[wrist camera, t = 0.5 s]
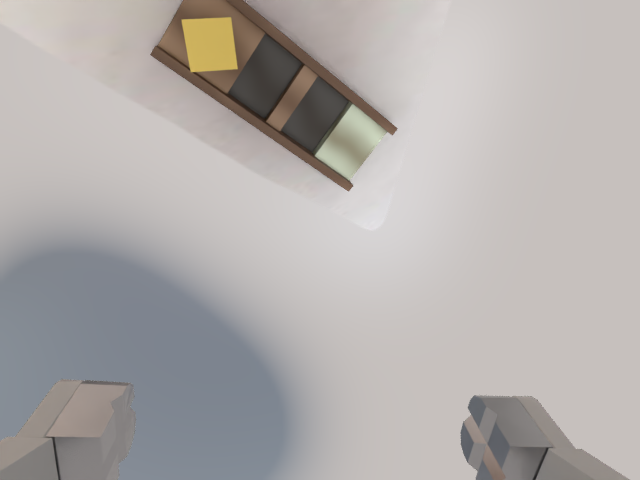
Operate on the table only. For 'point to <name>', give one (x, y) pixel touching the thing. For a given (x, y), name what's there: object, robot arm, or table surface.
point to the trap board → (281, 91)
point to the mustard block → (210, 44)
